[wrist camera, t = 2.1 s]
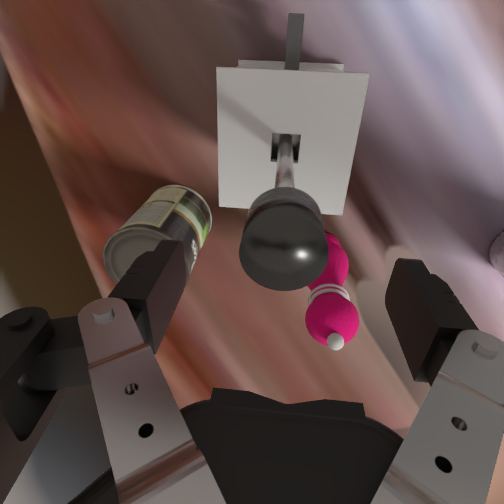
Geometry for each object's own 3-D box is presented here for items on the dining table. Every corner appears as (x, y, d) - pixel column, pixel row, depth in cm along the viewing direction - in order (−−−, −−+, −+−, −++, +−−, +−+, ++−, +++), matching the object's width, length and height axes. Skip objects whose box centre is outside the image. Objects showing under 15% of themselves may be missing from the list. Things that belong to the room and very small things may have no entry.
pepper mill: (294, 231, 50) (297, 324, 33) (342, 225, 49) (372, 319, 32) (299, 270, 53) (304, 372, 36) (344, 265, 52) (372, 369, 35)
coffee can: (222, 200, 48) (200, 250, 36) (200, 254, 54) (175, 312, 42) (155, 171, 47) (110, 213, 35) (139, 229, 52) (95, 282, 40)
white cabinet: (348, 27, 36) (384, 13, 22) (326, 166, 44) (343, 217, 31) (240, 23, 37) (212, 7, 23) (238, 160, 45) (217, 208, 31)
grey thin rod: (339, 88, 29) (430, 151, 11) (324, 183, 34) (369, 342, 15) (241, 83, 30) (165, 136, 11) (239, 177, 34) (184, 325, 16)
